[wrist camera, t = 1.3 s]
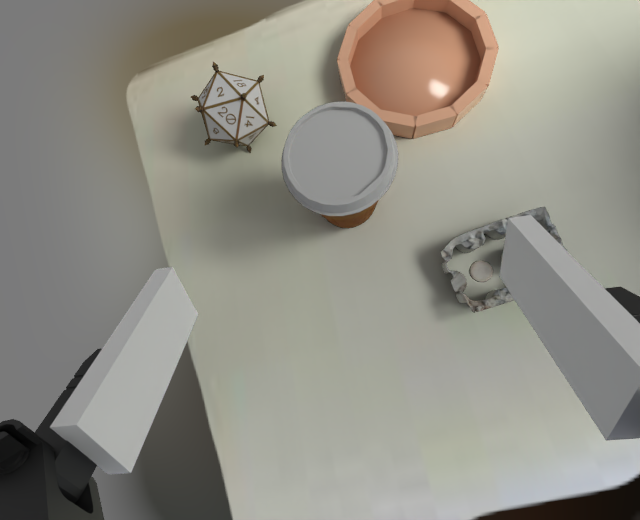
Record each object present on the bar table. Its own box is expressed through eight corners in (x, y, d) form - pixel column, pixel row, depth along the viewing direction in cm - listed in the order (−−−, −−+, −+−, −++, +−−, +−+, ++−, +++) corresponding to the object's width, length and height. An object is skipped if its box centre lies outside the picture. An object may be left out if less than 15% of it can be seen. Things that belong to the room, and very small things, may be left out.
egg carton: (460, 316, 35) (471, 317, 31) (431, 248, 37) (439, 241, 32) (564, 280, 34) (589, 277, 30) (531, 212, 35) (551, 200, 31)
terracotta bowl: (520, 62, 38) (531, 45, 35) (412, 165, 38) (415, 155, 35) (412, -19, 41) (414, -39, 39) (313, 76, 41) (309, 61, 39)
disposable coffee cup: (315, 251, 38) (290, 224, 26) (298, 172, 40) (267, 114, 28) (400, 230, 37) (413, 193, 25) (379, 150, 39) (382, 81, 27)
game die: (271, 141, 45) (302, 118, 36) (216, 173, 42) (234, 157, 33) (232, 74, 42) (255, 31, 33) (170, 104, 39) (177, 65, 30)
